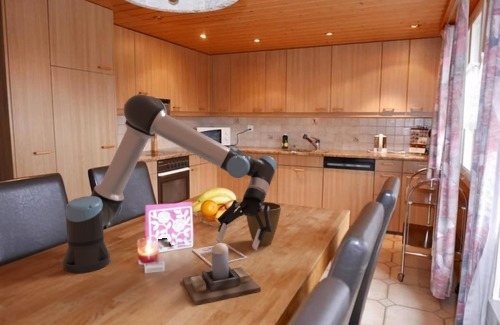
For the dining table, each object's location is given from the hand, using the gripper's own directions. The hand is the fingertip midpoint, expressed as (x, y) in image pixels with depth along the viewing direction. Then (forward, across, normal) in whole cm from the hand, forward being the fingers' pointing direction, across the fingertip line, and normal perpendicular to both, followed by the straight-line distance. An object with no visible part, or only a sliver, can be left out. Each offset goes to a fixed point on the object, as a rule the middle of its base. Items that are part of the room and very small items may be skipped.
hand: (235, 245), depth 119 cm
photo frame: (-1, +13, -15) cm, 20 cm away
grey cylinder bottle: (+14, -1, +2) cm, 14 cm away
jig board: (+14, -1, +1) cm, 14 cm away
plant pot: (-15, +4, -28) cm, 32 cm away
